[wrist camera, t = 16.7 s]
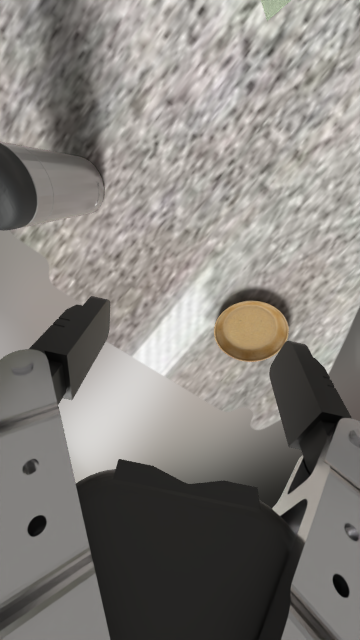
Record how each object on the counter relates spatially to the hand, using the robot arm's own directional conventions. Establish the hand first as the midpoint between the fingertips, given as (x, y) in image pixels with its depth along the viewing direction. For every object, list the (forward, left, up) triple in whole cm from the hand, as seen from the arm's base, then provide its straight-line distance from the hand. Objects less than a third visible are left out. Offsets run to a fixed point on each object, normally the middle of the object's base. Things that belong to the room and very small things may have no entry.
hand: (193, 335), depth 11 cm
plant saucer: (+13, -17, -37) cm, 43 cm away
